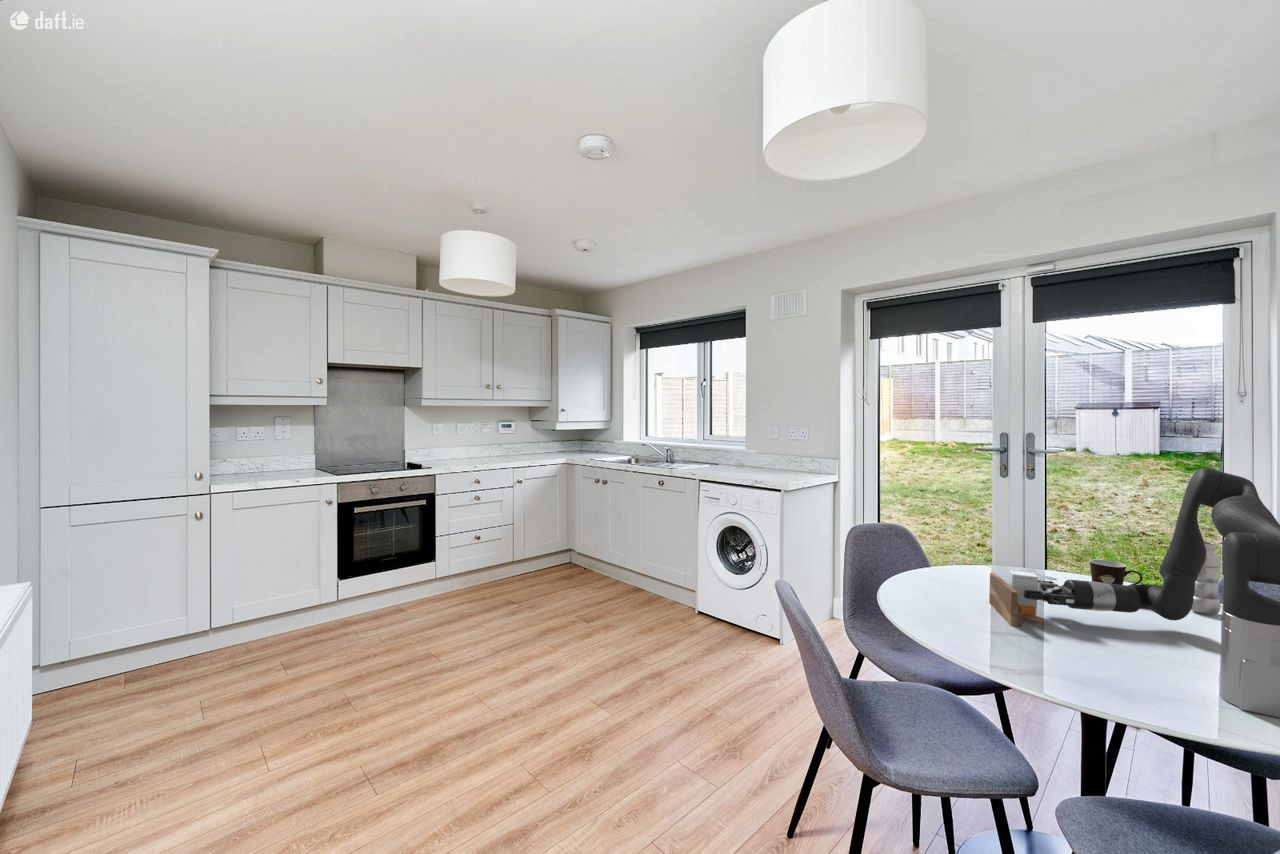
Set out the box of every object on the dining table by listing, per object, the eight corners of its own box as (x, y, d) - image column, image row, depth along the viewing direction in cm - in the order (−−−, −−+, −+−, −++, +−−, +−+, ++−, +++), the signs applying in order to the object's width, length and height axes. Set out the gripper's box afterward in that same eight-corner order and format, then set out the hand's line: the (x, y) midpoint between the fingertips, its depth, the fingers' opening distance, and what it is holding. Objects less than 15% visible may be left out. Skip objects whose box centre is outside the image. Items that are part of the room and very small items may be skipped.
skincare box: (1010, 616, 150) (1011, 574, 150) (1007, 611, 154) (1008, 569, 154) (1037, 620, 148) (1038, 577, 147) (1033, 615, 151) (1034, 572, 151)
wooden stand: (1022, 605, 159) (1023, 575, 158) (1048, 629, 141) (1049, 595, 141) (989, 602, 161) (990, 572, 161) (1010, 625, 144) (1011, 591, 144)
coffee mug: (1082, 592, 171) (1083, 561, 170) (1097, 588, 174) (1098, 558, 174) (1128, 604, 160) (1129, 571, 160) (1143, 600, 164) (1144, 567, 163)
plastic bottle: (1227, 618, 150) (1230, 546, 149) (1198, 616, 151) (1200, 545, 151) (1208, 609, 156) (1210, 540, 155) (1180, 608, 157) (1182, 539, 157)
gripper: (1076, 574, 153) (1010, 568, 158) (1102, 590, 139) (1029, 583, 144) (1075, 600, 153) (1009, 594, 158) (1102, 618, 139) (1028, 611, 144)
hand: (1019, 589), depth 151 cm, fingers open, 8 cm apart
